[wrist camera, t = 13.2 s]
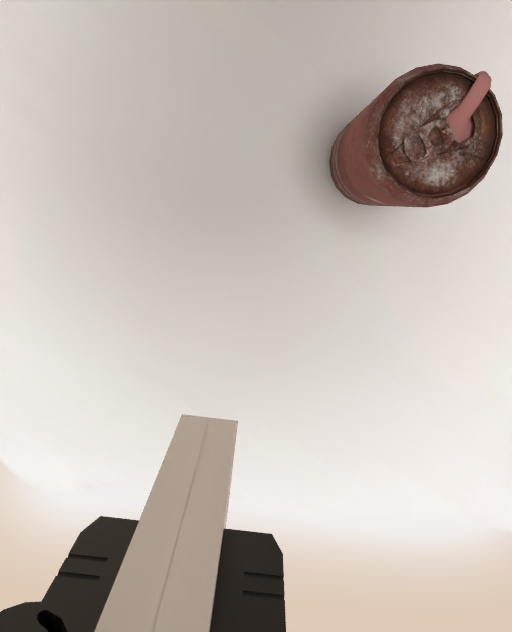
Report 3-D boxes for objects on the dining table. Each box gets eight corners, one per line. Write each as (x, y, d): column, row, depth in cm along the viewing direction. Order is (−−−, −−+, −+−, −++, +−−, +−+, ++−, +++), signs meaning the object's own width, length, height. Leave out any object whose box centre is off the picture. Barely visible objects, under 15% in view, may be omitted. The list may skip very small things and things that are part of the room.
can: (431, 138, 33) (544, 95, 20) (385, 219, 35) (460, 231, 21) (358, 96, 33) (422, 22, 19) (313, 180, 34) (344, 166, 21)
